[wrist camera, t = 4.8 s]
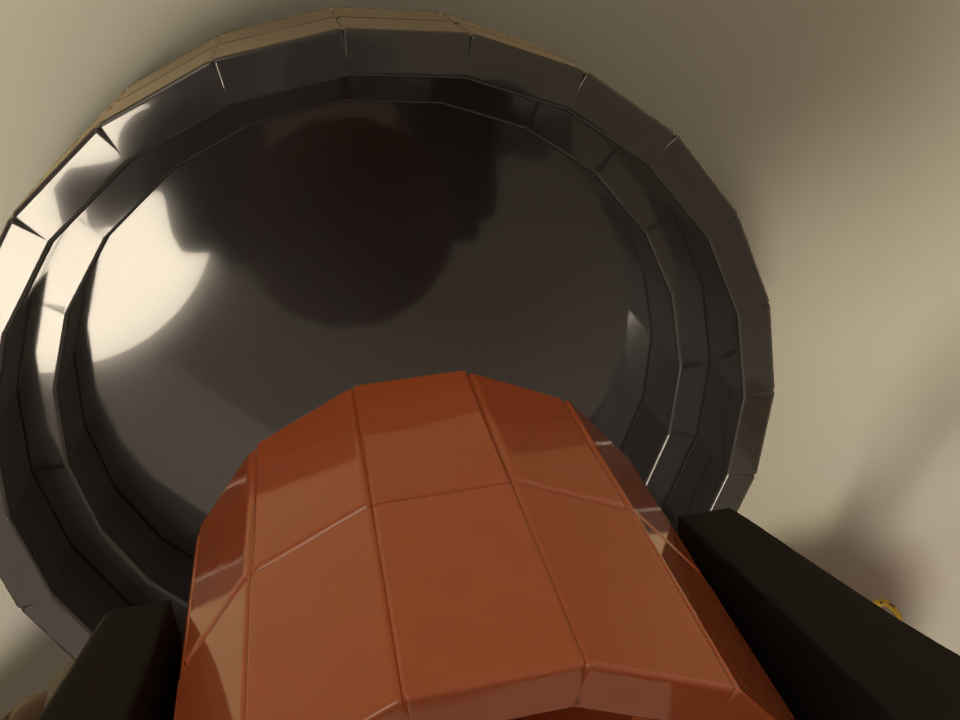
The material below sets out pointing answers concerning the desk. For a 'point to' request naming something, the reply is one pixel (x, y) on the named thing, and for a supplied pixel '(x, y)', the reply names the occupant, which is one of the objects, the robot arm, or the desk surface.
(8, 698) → the desk surface
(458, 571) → the terracotta cup
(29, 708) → the pan handle
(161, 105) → the pan
